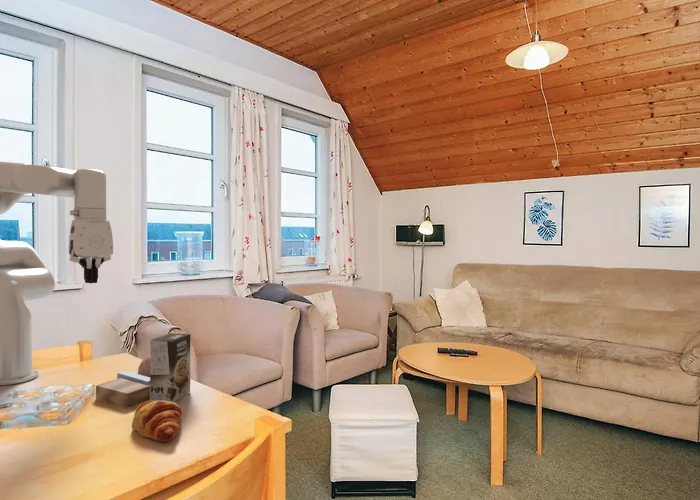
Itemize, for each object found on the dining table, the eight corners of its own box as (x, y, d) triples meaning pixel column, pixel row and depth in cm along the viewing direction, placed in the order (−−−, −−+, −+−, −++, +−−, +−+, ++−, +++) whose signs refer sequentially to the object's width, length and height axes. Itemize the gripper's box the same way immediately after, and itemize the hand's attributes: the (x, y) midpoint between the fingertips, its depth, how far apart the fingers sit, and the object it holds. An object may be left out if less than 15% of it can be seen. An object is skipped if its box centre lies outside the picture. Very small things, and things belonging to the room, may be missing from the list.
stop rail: (117, 388, 126) (117, 372, 126) (125, 386, 129) (125, 370, 128) (147, 398, 120) (147, 381, 120) (155, 395, 122) (155, 379, 122)
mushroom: (164, 385, 130) (164, 357, 129) (140, 389, 126) (140, 360, 126) (159, 378, 136) (159, 351, 136) (136, 381, 133) (136, 354, 132)
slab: (95, 400, 118) (95, 385, 118) (120, 392, 125) (120, 377, 125) (127, 409, 113) (127, 393, 113) (151, 400, 119) (151, 385, 119)
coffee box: (171, 404, 116) (172, 341, 115) (149, 402, 117) (149, 339, 116) (191, 392, 125) (191, 333, 124) (170, 390, 126) (170, 332, 125)
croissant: (133, 430, 109) (115, 404, 106) (171, 402, 114) (155, 377, 112) (157, 465, 92) (137, 435, 90) (201, 431, 97) (183, 401, 95)
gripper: (69, 214, 117) (70, 286, 117) (124, 216, 130) (124, 281, 130) (54, 214, 120) (54, 284, 121) (108, 216, 133) (109, 279, 134)
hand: (91, 282), depth 126 cm, fingers closed
